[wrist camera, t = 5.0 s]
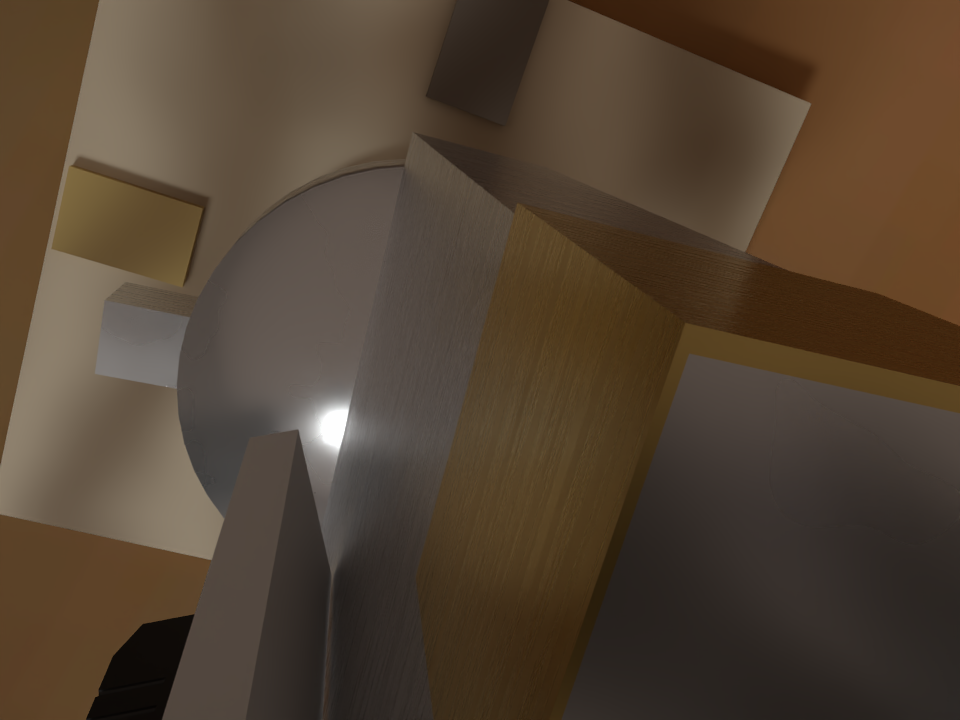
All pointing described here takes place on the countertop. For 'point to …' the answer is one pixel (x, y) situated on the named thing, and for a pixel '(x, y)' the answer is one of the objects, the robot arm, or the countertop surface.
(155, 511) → the board
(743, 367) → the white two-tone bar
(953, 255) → the countertop surface
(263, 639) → the robot arm
